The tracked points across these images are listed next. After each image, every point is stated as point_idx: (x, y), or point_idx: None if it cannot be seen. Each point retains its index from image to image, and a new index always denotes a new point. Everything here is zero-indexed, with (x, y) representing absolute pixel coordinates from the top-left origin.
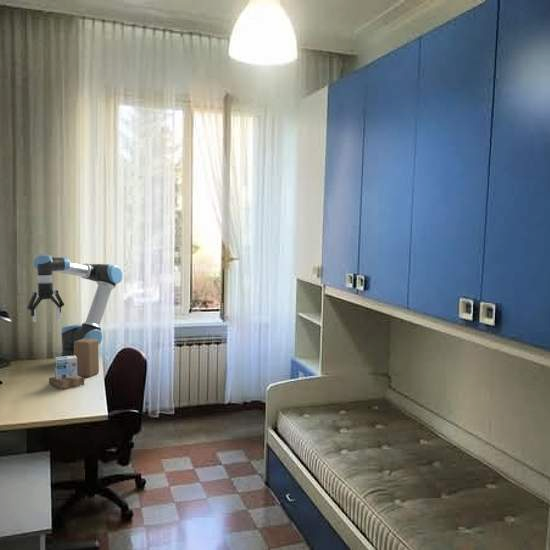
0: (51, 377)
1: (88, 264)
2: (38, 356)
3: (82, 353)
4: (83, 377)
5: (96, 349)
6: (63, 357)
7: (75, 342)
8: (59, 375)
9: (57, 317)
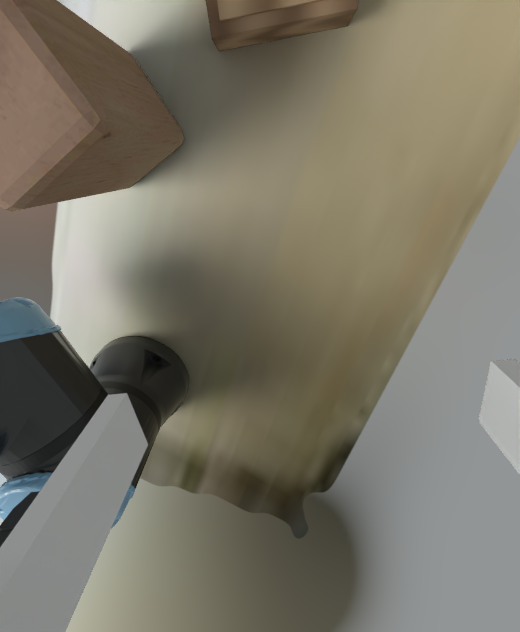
0: (343, 8)
1: None
2: (224, 492)
3: (88, 46)
4: None
5: None
6: None
7: (90, 98)
8: None
9: (129, 435)
